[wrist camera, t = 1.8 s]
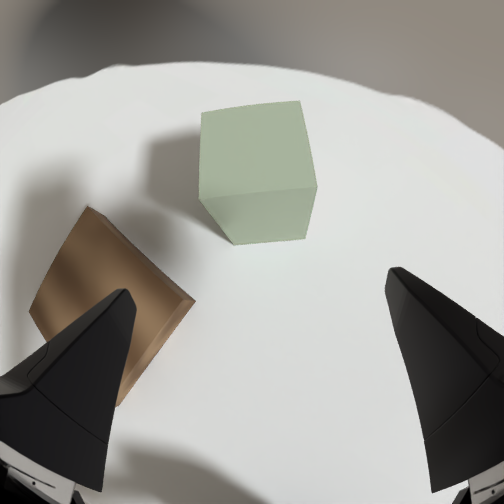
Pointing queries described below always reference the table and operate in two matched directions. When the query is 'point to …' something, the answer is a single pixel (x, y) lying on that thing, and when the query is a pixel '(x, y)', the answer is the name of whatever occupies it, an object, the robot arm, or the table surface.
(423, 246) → the table surface
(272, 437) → the table surface
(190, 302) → the walnut plinth
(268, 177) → the sage block
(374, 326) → the table surface
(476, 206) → the table surface
